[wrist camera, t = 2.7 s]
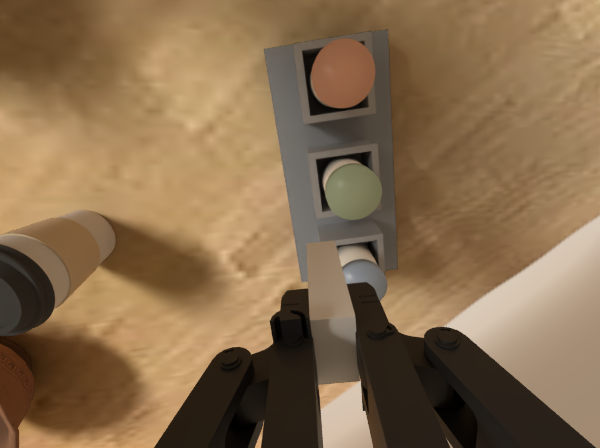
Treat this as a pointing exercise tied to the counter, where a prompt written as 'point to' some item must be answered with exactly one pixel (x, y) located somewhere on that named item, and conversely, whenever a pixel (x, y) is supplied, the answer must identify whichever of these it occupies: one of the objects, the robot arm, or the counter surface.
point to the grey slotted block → (334, 148)
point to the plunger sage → (350, 188)
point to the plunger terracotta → (342, 74)
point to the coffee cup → (48, 266)
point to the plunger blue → (361, 267)
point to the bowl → (13, 391)
